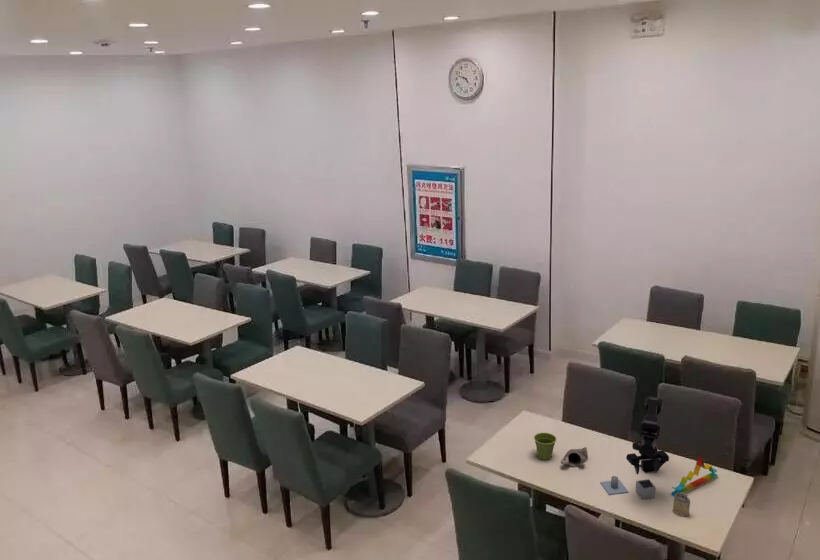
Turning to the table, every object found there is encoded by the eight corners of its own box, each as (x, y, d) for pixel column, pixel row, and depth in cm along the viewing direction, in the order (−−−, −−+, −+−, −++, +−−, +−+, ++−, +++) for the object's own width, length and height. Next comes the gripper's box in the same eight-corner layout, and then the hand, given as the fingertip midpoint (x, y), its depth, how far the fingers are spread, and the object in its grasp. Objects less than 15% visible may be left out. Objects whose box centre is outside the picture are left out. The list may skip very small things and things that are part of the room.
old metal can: (689, 513, 297) (691, 495, 294) (687, 518, 294) (689, 499, 291) (673, 508, 301) (675, 489, 298) (671, 512, 298) (673, 493, 296)
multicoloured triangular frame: (676, 498, 308) (679, 471, 304) (671, 495, 311) (673, 468, 307) (717, 478, 323) (720, 452, 318) (711, 475, 325) (714, 449, 321)
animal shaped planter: (566, 473, 345) (568, 474, 331) (556, 458, 347) (558, 458, 333) (591, 456, 345) (595, 456, 331) (581, 441, 348) (584, 441, 333)
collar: (648, 489, 315) (649, 479, 313) (654, 498, 309) (655, 487, 307) (635, 491, 314) (636, 480, 313) (641, 499, 308) (642, 488, 306)
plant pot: (560, 457, 345) (561, 439, 341) (544, 465, 338) (545, 446, 335) (544, 448, 354) (545, 429, 351) (528, 455, 348) (529, 437, 344)
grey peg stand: (619, 480, 323) (620, 471, 321) (628, 492, 314) (629, 482, 312) (600, 483, 322) (600, 473, 320) (608, 495, 312) (609, 485, 311)
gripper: (659, 433, 312) (656, 461, 317) (622, 437, 310) (620, 465, 315) (670, 445, 302) (668, 474, 306) (632, 449, 300) (630, 478, 304)
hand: (646, 473), depth 308 cm, fingers open, 9 cm apart
